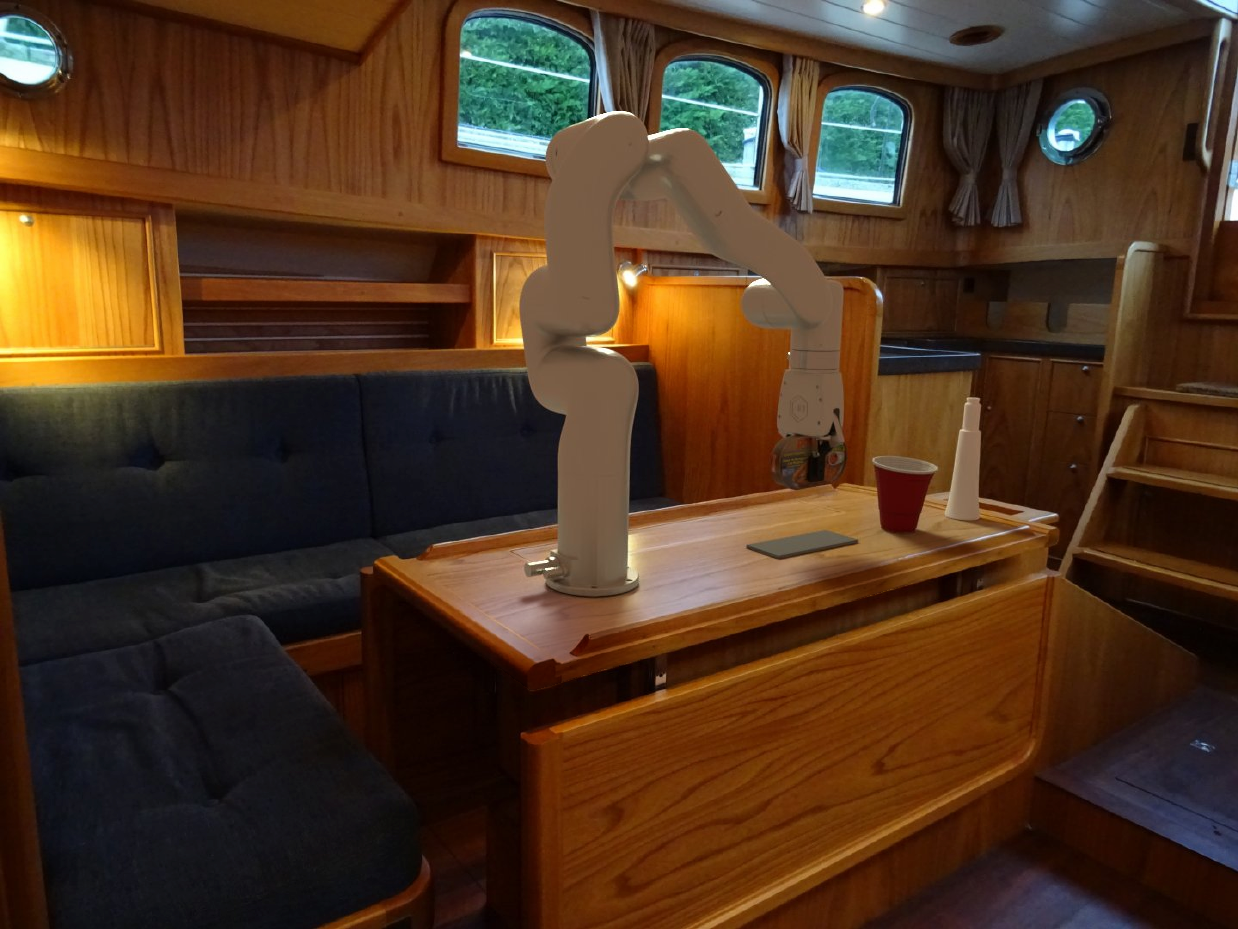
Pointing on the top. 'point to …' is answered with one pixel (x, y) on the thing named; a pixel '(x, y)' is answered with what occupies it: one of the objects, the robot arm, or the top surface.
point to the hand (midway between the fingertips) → (807, 478)
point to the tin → (803, 463)
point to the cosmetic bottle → (966, 467)
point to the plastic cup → (901, 491)
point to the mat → (801, 544)
